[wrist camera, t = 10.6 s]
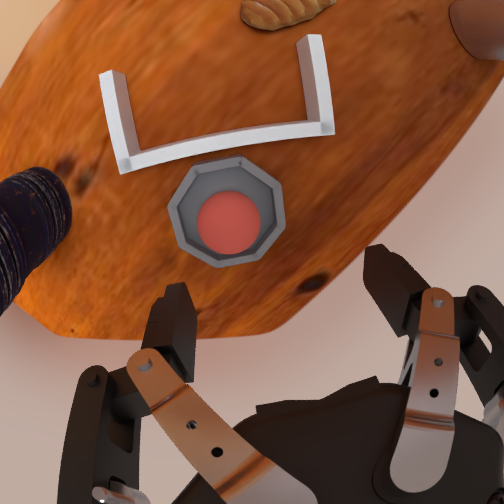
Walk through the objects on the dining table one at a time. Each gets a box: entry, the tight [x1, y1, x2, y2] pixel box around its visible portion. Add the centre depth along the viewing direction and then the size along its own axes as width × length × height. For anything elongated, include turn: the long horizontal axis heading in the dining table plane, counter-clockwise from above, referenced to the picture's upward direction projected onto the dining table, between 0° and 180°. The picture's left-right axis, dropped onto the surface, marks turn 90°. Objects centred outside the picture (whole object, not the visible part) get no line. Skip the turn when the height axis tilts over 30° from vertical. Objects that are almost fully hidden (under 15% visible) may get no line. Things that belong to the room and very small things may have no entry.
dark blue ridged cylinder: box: [0, 167, 72, 316], centre depth 17 cm, size 10×10×15 cm
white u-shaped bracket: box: [99, 34, 335, 175], centre depth 20 cm, size 18×9×4 cm, turn 99°
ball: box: [197, 191, 261, 254], centre depth 24 cm, size 6×6×6 cm
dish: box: [167, 154, 286, 268], centre depth 26 cm, size 10×10×2 cm
